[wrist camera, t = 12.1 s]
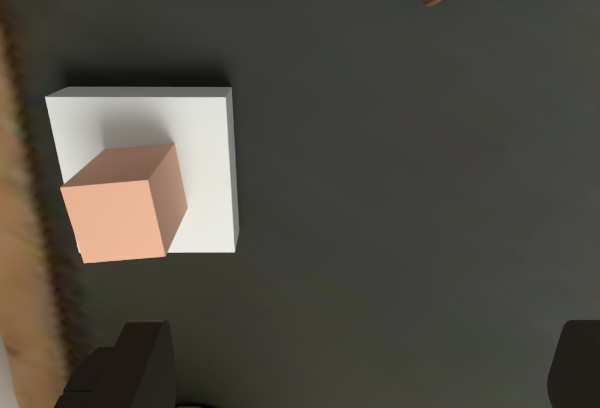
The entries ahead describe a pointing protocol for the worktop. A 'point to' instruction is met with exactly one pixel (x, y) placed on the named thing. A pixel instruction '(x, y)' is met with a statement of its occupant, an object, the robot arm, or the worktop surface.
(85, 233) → the terracotta block
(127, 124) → the white block
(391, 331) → the worktop surface
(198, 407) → the canister
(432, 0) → the tin
